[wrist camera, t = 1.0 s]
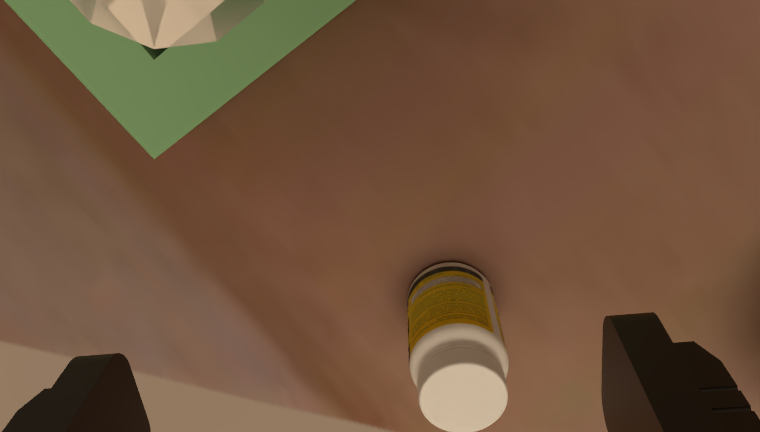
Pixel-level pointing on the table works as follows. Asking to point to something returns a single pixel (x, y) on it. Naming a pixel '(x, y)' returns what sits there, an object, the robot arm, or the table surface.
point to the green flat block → (171, 53)
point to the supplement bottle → (456, 348)
